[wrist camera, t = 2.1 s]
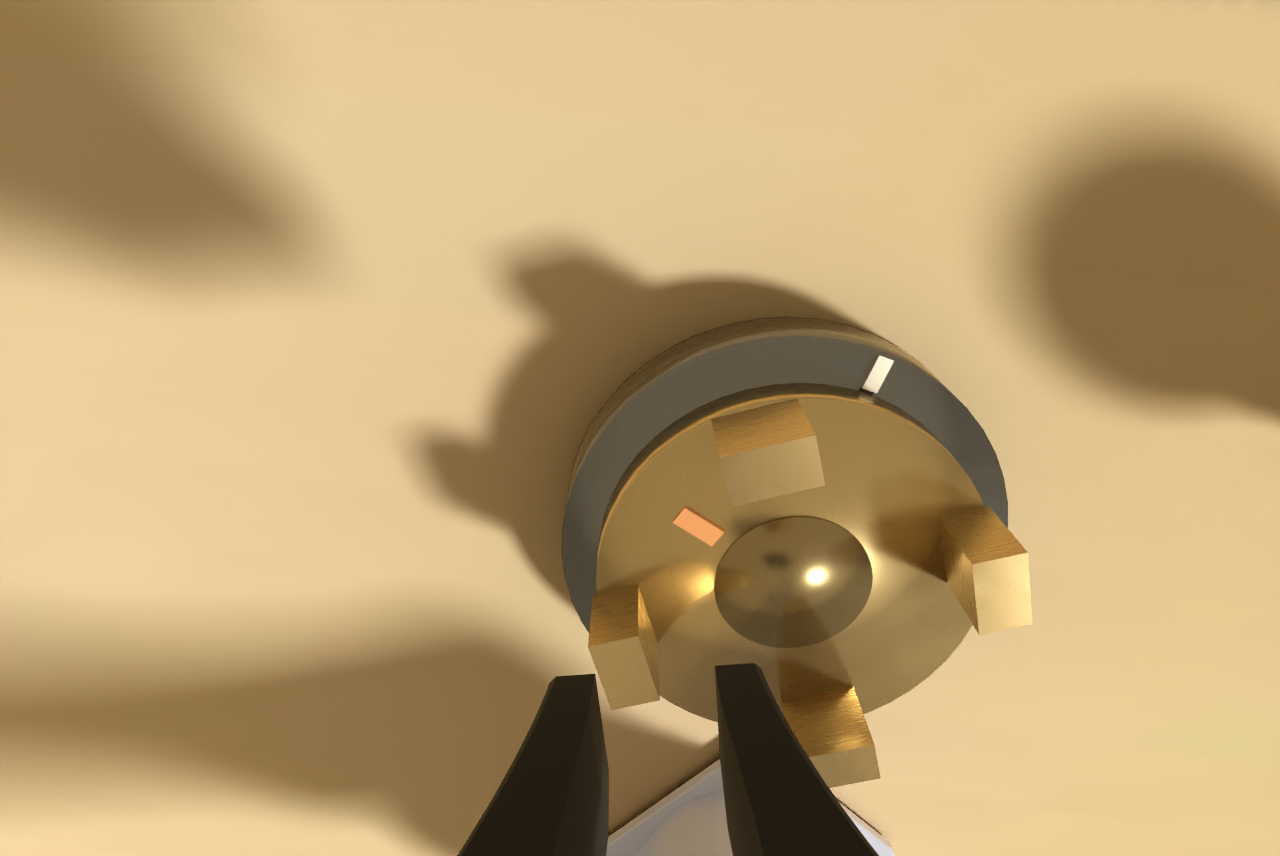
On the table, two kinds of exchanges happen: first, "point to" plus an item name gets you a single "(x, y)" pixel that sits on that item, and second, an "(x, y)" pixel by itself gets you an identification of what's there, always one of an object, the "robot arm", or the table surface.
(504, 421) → the table surface
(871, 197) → the table surface
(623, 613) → the brass lugged disc
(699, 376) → the cap base
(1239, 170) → the table surface
